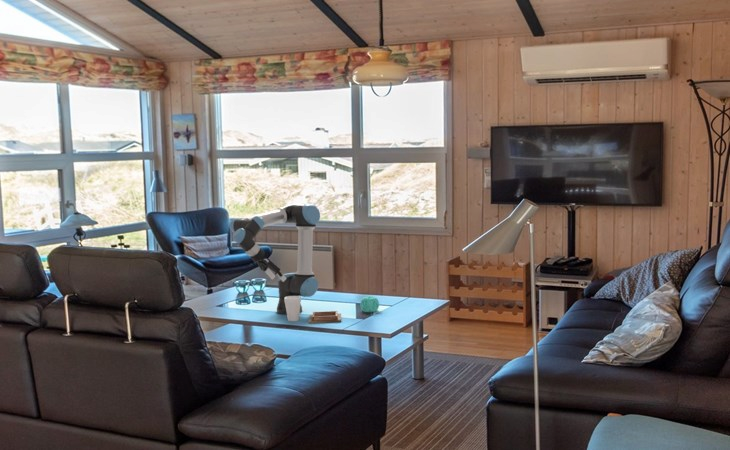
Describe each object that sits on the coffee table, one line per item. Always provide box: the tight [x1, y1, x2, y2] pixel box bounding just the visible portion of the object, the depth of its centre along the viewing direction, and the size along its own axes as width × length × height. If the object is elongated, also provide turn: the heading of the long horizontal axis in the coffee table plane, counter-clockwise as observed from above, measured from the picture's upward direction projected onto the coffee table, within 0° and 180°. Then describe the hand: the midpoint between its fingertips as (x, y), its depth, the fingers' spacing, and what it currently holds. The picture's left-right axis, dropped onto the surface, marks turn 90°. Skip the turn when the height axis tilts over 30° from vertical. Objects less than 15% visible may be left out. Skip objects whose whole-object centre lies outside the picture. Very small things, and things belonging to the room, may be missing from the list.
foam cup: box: [284, 296, 302, 322], centre depth 424 cm, size 10×9×13 cm
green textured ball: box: [360, 296, 380, 313], centre depth 442 cm, size 8×8×8 cm
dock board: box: [308, 310, 342, 325], centre depth 422 cm, size 18×18×3 cm
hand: (279, 279), depth 417 cm, fingers open, 13 cm apart
